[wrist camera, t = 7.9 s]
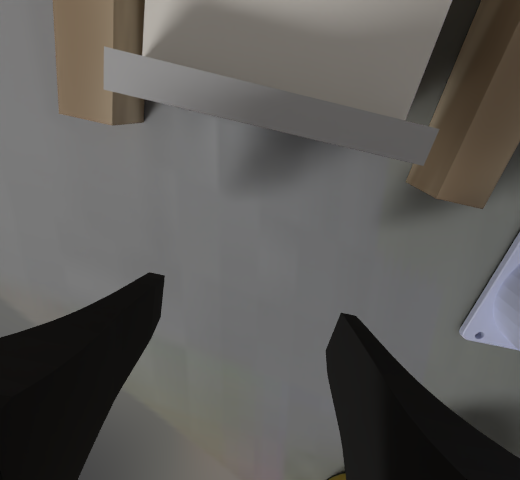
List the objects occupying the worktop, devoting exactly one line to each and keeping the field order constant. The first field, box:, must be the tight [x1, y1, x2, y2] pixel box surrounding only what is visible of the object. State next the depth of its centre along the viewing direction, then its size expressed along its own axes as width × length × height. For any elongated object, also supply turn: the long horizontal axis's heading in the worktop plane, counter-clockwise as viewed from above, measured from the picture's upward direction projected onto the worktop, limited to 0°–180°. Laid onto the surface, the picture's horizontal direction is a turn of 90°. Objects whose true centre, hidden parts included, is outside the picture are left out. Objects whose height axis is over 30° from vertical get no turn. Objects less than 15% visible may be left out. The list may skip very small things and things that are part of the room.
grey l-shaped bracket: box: [104, 0, 452, 166], centre depth 10 cm, size 9×7×6 cm
